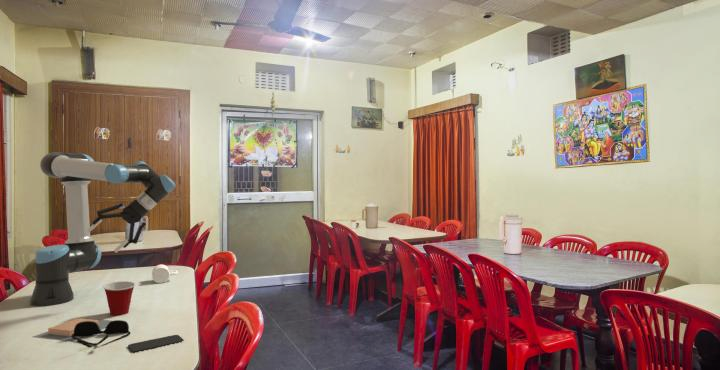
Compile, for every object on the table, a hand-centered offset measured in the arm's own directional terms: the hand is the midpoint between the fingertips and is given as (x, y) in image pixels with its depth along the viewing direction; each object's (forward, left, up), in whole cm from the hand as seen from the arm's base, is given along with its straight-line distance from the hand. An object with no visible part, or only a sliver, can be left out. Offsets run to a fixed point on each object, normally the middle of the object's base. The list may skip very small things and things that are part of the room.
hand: (101, 241), depth 177 cm
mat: (+18, -27, -27) cm, 42 cm away
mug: (-7, +45, -27) cm, 53 cm away
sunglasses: (+34, -35, -26) cm, 55 cm away
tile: (+18, -23, -24) cm, 38 cm away
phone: (+52, -30, -27) cm, 66 cm away
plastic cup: (+18, -9, -27) cm, 33 cm away
